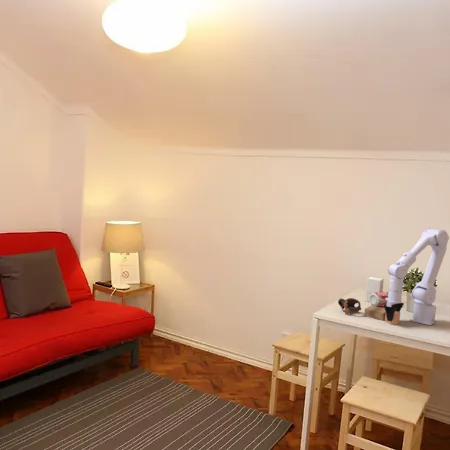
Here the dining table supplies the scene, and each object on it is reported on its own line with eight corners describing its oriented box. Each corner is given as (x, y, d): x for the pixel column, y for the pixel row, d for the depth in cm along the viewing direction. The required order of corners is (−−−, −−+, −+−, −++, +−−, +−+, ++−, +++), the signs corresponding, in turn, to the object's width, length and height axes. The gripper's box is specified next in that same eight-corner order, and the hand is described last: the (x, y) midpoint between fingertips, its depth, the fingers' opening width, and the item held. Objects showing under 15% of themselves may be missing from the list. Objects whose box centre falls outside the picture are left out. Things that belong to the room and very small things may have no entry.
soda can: (371, 289, 248) (389, 289, 253) (366, 300, 251) (384, 299, 256) (379, 298, 242) (397, 297, 247) (374, 309, 245) (392, 308, 250)
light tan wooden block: (389, 317, 228) (390, 309, 228) (382, 321, 221) (383, 313, 221) (370, 313, 234) (371, 305, 234) (364, 316, 227) (364, 308, 226)
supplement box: (382, 301, 259) (384, 278, 258) (378, 304, 253) (380, 280, 251) (368, 298, 263) (370, 276, 261) (364, 301, 256) (366, 278, 255)
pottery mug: (362, 313, 234) (365, 301, 229) (353, 325, 228) (356, 313, 223) (340, 302, 240) (342, 290, 235) (331, 313, 234) (333, 301, 229)
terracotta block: (399, 322, 220) (400, 312, 220) (395, 325, 216) (396, 314, 216) (388, 320, 223) (389, 309, 223) (384, 322, 219) (385, 311, 219)
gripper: (392, 286, 226) (389, 314, 228) (381, 291, 215) (378, 320, 216) (407, 289, 222) (404, 317, 223) (396, 294, 211) (393, 324, 212)
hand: (392, 319), depth 220 cm, fingers open, 7 cm apart
